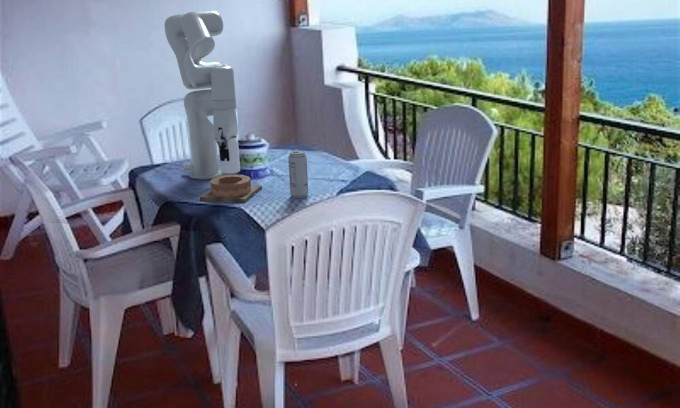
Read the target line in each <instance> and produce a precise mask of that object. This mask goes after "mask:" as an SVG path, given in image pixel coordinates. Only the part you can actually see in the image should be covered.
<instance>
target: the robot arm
mask: <svg viewBox="0 0 680 408" xmlns="http://www.w3.org/2000/svg"><path fill="white" fill-rule="evenodd" d="M223 30H224V20H223V18H222V16H221V14H220V13H219V12H218V11H217V10H197V11H189V12H186V13H180V14H174V15H170V16H169V17H167V18H166V19H165V20H164V33H165V37H166V39H167V43H168V44H169V46H170V48H171V50H172V51H173V54H174V56H175V57H176V61H177V65H178V69H179V74H180V77H181V78H180V79H181V81H182V85H183V86H184V87H185V89H187V90H193V91H190V92H188V93H187V94H186V95H185V96H184V98H183V106H184V111H185V113H186V114H185V115H186V118H187V119H186V120H187V123H188V131H189V132H188V134H189V143H190V153H191V156H190V157H191V164H189V163H184V164H183V165H182V167H183V170H184V171H189V173H188V177H189V178H190V179H193V180H203V181H205V180H212V179H213V178H216V177H219V176H224V174H223V173H222V172H221V169H220V168H219V167H220V166H219V165H220V164H219V161H220V160H221V161H225V159H226V158H227V161H229V160H230V158H229V149H228V140H229V139H230V138H233V137H235V136H236V138H237V137H238V136H237V135H238V133H239V132H238V117H237V113H236V109H237V101H236V87H235V76H234V75H235V72H234V68H233V67H232V66H230V65H228V64H227V63H223V62H221V63H220V62H218V61H206V62H204V61H202V59H204V58H205V57H207V56H209V55H210V54H211V53H212V52H213V51H214V50H215V46H216V43H215V39H214V38H213V36H214V37H215V36H218V35H221V34H222V33H223ZM212 116H213V117H212ZM208 117H212V118H213V120H212V121H213V122H211V121H210V120H209V119H208ZM222 138H225V139H226V140H222ZM237 139H238V138H237ZM224 142H225V144H224ZM219 151H220V157H219V156H218V155H219V153H218V152H219Z"/></svg>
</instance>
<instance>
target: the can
mask: <svg viewBox="0 0 680 408" xmlns="http://www.w3.org/2000/svg"><path fill="white" fill-rule="evenodd" d="M222 140H226V139H225V138H222ZM224 144H225V142H224ZM228 149H229V158H230V160H229V161H227V158H226V159H225V161H221V160H220V159H219V165H220V166H219V167H220V168H219V169H221V172H222V173H223V175H237V174H238V173H239V172H240V171H241V164H240V150H239V141H238V138H236V136H235V137H233V138H230V139H229V140H228ZM218 155H219V156H218V158H220V151H219V150H218Z"/></svg>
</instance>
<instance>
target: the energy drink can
mask: <svg viewBox="0 0 680 408" xmlns="http://www.w3.org/2000/svg"><path fill="white" fill-rule="evenodd" d="M287 159H288V175H289V176H288V178H289V194H290V195H291V197H292V198H294V199H303V198H306V197H307V196H308V194H309V180H308V179H309V178H308V157H307V155H306V153H305V150H292V151H290V152H289V154H288V158H287Z"/></svg>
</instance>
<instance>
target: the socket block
mask: <svg viewBox="0 0 680 408" xmlns="http://www.w3.org/2000/svg"><path fill="white" fill-rule="evenodd" d="M251 183H252V180H251V178H250V176H249V175H248V176H247V175H244V174H223V175H222V176H219V177H216V178H213V179H210V189H209V190H208V191H206V192H205V193H203V194H202V195H200V196H199V201H201V202H202V201H203V202H204V201H205V202H225V203H226V202H227V203H244V202H245V203H246V201H247V200H248V199H249V198H250V199H251V198H253V197H254V196H255V195H256V194H257V192H258V191H259V190H260V191H262V190H263V186H262V185H258V184H255V185H253V184H251ZM260 191H259V192H260ZM259 192H258V193H259ZM255 193H256V194H255ZM254 194H255V195H254ZM253 195H254V196H253ZM252 196H253V197H252ZM250 199H249V200H250ZM249 200H248V201H249ZM248 201H247V202H248Z"/></svg>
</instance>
